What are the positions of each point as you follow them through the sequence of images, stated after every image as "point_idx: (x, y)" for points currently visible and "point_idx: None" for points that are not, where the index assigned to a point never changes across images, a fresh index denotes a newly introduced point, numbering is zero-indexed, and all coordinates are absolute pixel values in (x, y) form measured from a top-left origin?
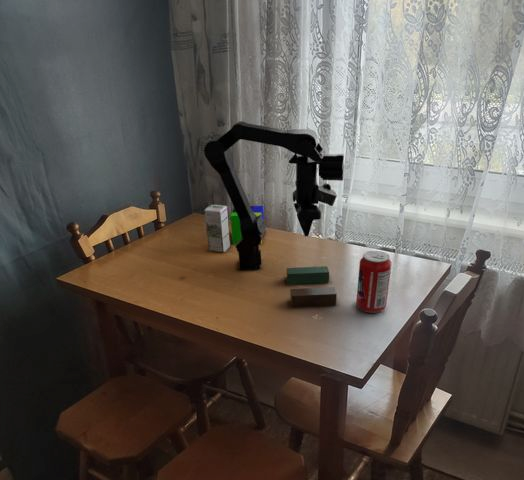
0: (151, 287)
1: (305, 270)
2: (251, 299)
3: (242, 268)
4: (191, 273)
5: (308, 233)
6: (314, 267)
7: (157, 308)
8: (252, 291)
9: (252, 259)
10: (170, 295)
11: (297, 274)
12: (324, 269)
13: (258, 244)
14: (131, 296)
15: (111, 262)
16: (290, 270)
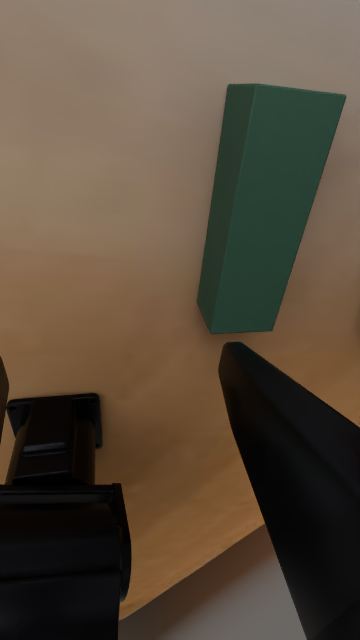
0: (173, 548)
1: (268, 250)
2: None
3: (100, 441)
4: None
5: (264, 366)
6: (247, 190)
7: (262, 521)
8: None
9: (91, 446)
10: (217, 520)
11: (283, 289)
12: (298, 123)
13: (109, 507)
14: (203, 555)
15: None
16: (241, 319)
